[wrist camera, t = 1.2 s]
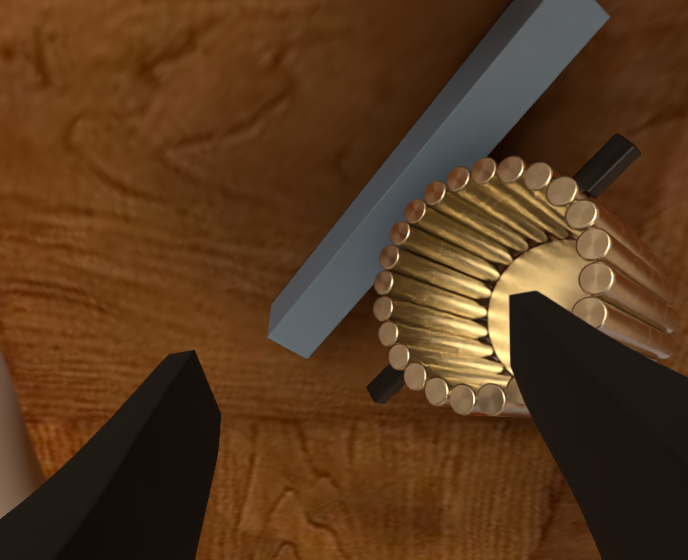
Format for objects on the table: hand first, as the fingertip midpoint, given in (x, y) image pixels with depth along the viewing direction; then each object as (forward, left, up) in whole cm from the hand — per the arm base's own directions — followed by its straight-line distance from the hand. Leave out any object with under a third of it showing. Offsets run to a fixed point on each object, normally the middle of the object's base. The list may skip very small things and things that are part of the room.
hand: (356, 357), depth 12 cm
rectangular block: (-2, -2, -10) cm, 11 cm away
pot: (-6, -2, -10) cm, 12 cm away
